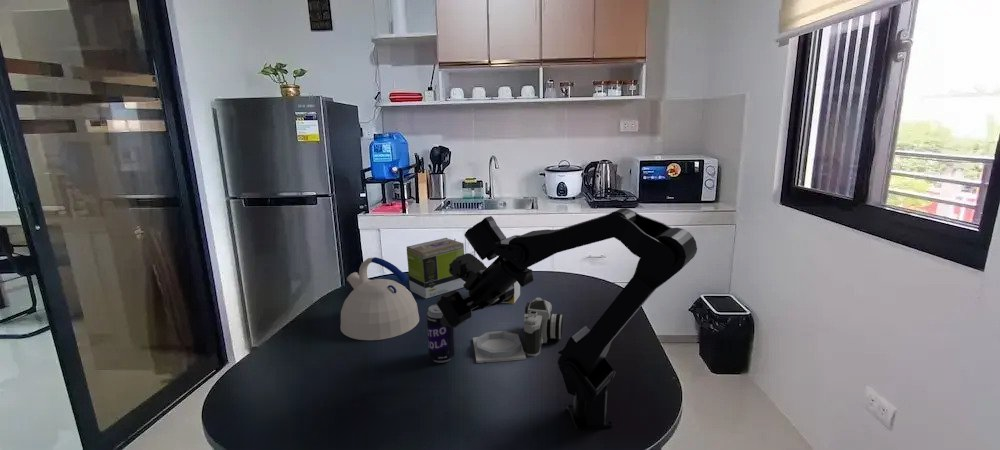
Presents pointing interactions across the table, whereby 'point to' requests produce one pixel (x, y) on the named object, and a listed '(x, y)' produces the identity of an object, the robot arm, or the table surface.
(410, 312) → the kettle
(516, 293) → the medicine bottle
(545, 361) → the table surface
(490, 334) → the mount
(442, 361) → the beverage can
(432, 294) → the tea box
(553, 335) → the camera
